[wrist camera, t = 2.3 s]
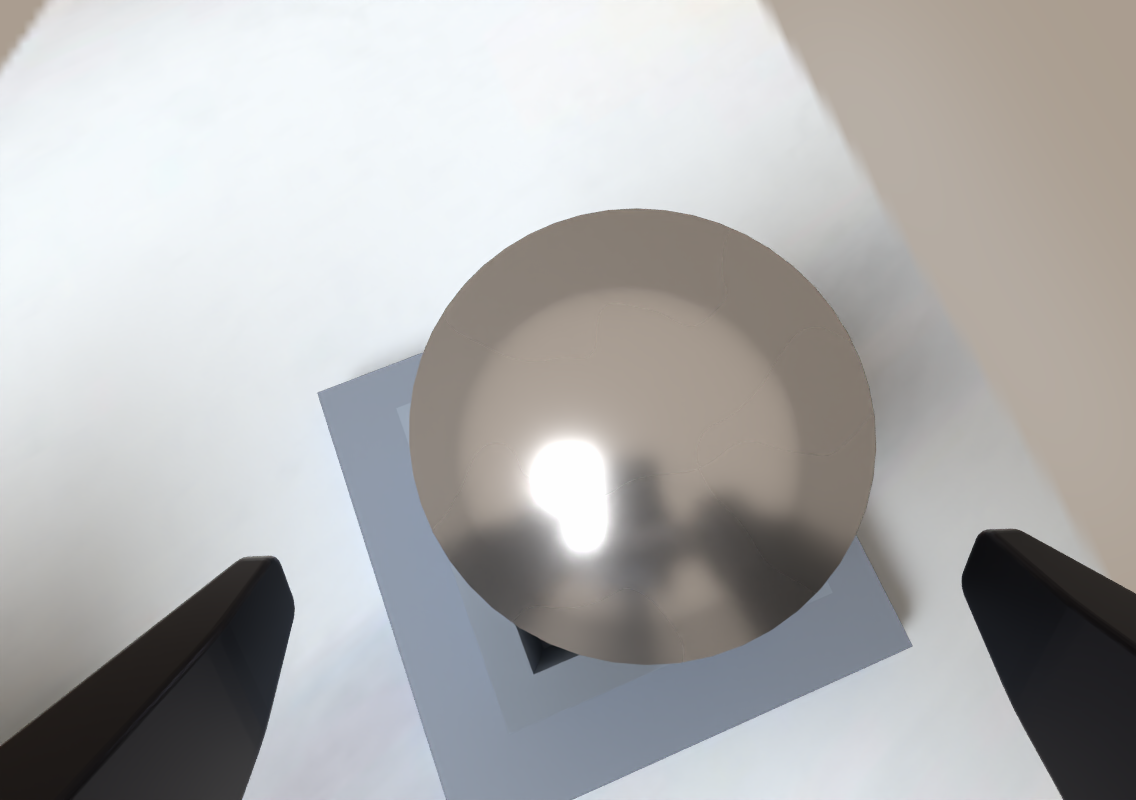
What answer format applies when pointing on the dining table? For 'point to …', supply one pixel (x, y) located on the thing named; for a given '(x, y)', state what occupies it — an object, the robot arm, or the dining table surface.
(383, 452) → the jack base
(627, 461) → the cylinder
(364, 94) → the dining table surface
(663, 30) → the dining table surface
